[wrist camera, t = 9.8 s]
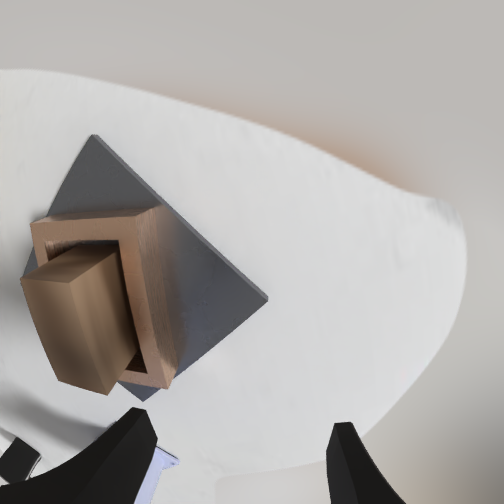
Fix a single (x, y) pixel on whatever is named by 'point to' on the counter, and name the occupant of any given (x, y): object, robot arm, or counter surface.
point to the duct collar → (148, 265)
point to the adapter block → (83, 316)
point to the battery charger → (18, 462)
